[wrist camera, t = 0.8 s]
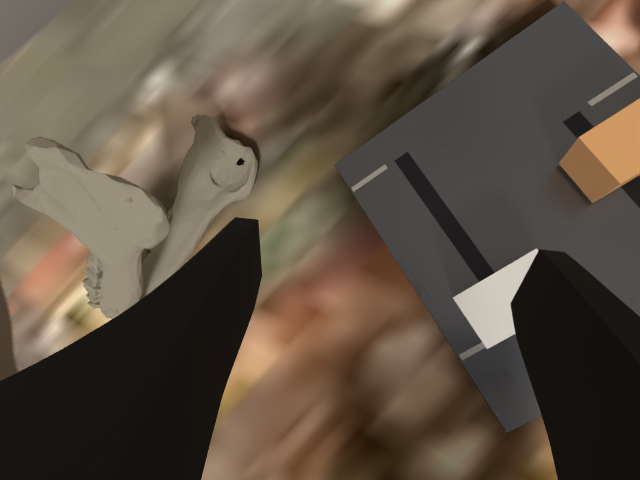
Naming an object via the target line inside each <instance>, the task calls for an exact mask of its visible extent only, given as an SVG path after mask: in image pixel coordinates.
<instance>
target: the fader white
mask: <svg viewBox="0 0 640 480" xmlns="http://www.w3.org/2000/svg"><path fill="white" fill-rule="evenodd" d="M537 253H538V249H537V248H536V249H535V250H533V251H531V252H530V253H528V254H526V255H524V256H523V257H521V258H519V259H518V260H516V261H514V262H513V263H511V264H509V265H507V266H506V267H504V268H502V269H501V270H499V271H497V272H496V273H494V274H492V275H490V276H489V277H487V278H485V279H484V280H482V281H480V282H479V283H477V284H475V285H473V286H472V287H470V288H468V289H467V290H465V291H463V292H462V293H460V294H458V295H456V296H455V297H453V299H454V300H455V302H456V303H457V305H458V306H459V308H460V309H461V311H462V312H463V314H464V315H465V317H466V318H467V320H468V321H469V323H470V324H471V326H472V327H473V329H474V330H475V332H476V333H477V335H478V336H479V338H480V339H481V341H482V342H483V344H484V345H485V347H486V348H487V349H488V348H490V347H492V346H494V345H496V344H498V343H499V342H501V341H503V340H505V339H507V338H508V337H510V336H512V335H514V334H515V328H514V323H513V317H512V311H511V304H510V303H511V301H512V299H513V298H514V296H515V294H516V292H517V290H518V288H519V286H520V284H521V283H522V281H523V279H524V277H525V275H526V273H527V271H528V270H529V268H530V266H531V264H532V262H533V260H534V258H535V256H536V255H537Z"/></svg>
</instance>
